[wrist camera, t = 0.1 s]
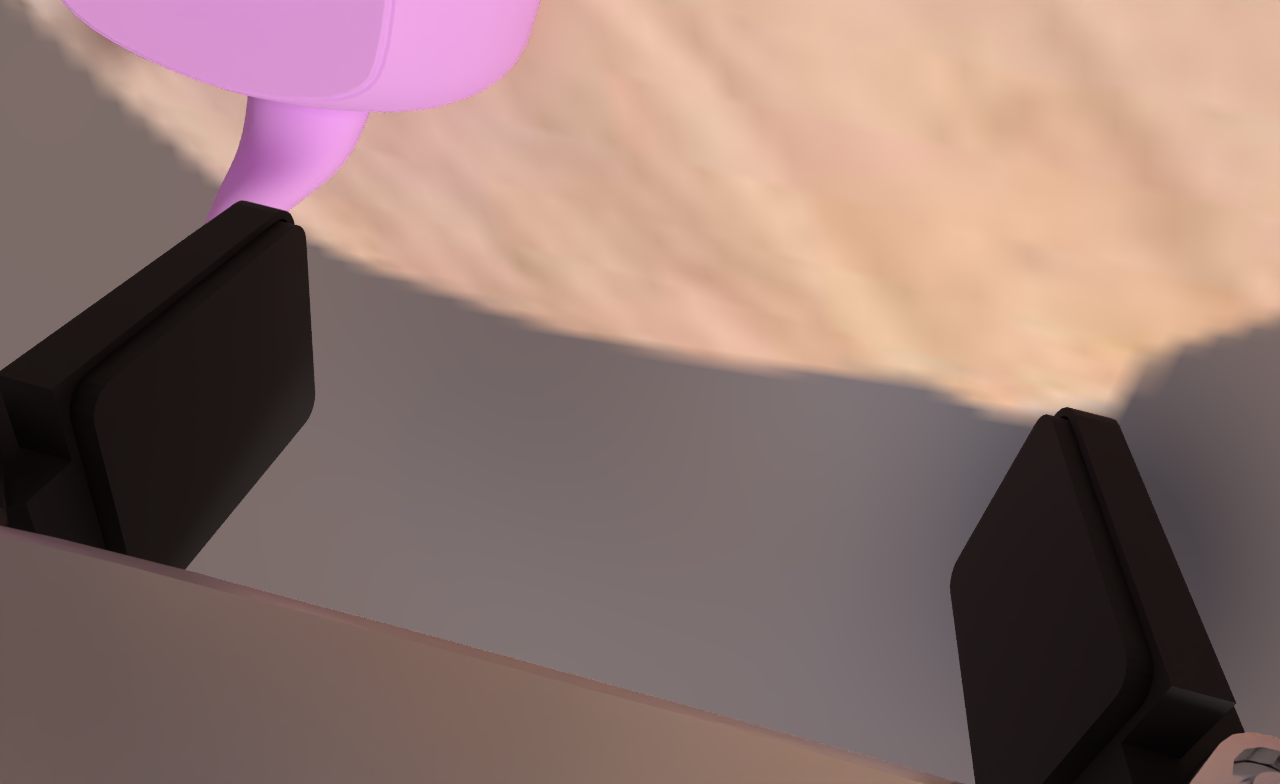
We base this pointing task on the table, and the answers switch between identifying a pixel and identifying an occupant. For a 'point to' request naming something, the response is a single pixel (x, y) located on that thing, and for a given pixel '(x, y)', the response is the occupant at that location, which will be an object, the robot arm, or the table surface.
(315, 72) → the teapot
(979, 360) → the table surface
